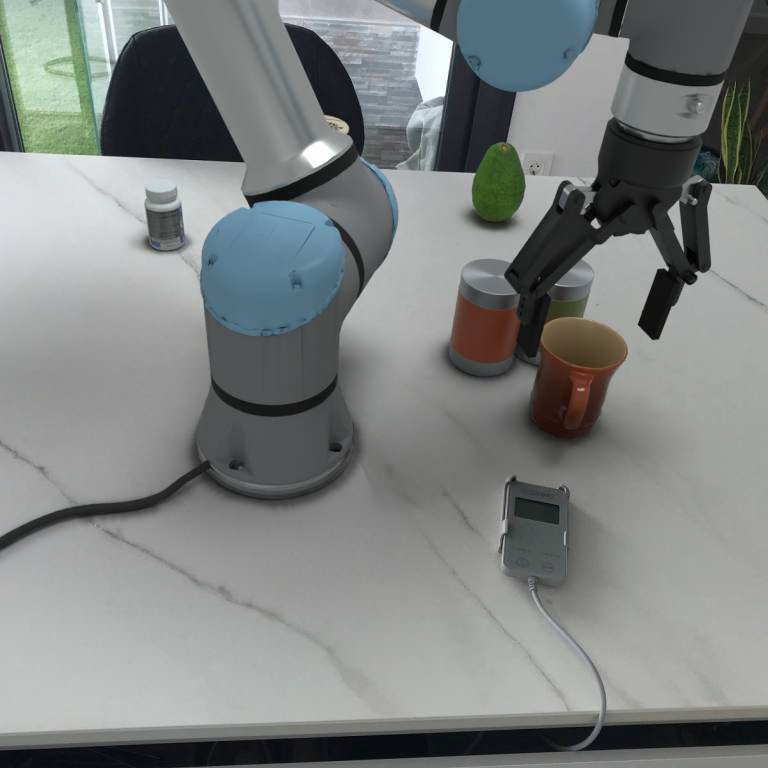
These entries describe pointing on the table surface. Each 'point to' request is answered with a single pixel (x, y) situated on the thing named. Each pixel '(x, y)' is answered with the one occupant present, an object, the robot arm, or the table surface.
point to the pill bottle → (164, 215)
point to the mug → (574, 374)
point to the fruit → (498, 183)
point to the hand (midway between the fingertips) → (588, 340)
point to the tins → (504, 314)
